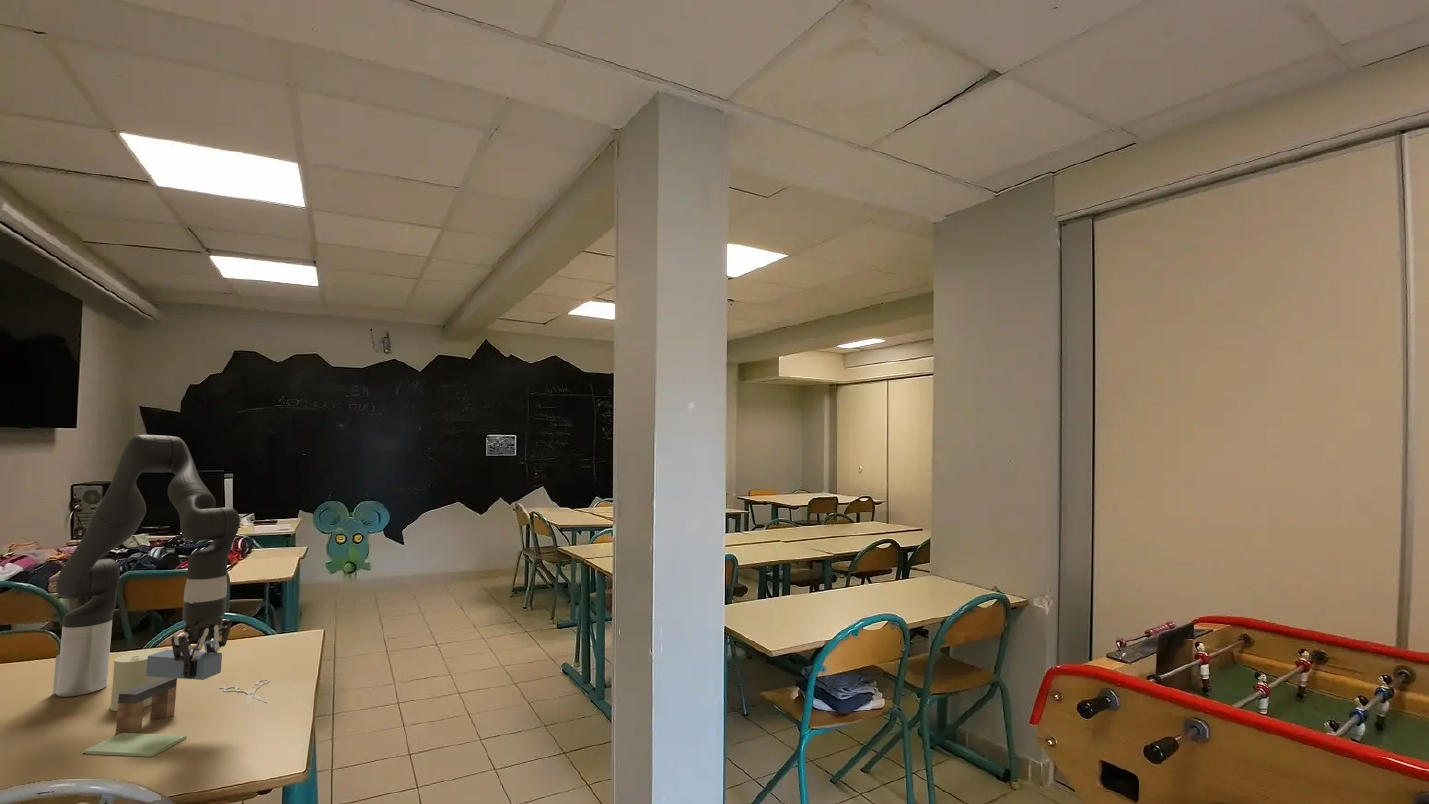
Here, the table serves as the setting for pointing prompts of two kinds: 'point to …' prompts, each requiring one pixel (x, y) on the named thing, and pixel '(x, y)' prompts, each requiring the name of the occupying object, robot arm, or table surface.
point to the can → (130, 674)
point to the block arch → (134, 701)
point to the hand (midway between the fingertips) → (199, 673)
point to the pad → (135, 744)
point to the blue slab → (169, 668)
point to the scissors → (249, 693)
